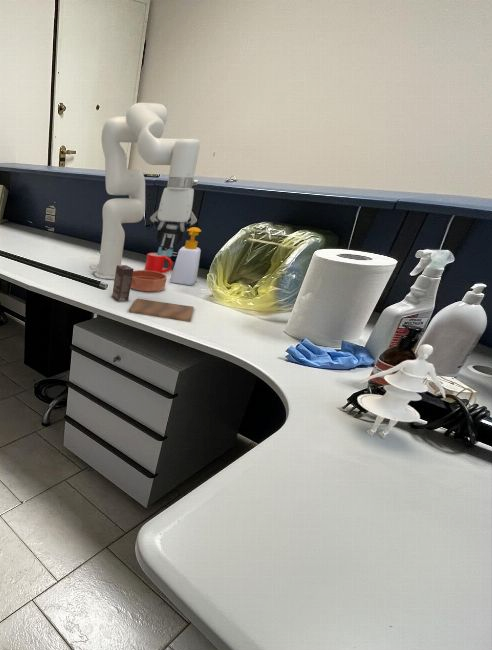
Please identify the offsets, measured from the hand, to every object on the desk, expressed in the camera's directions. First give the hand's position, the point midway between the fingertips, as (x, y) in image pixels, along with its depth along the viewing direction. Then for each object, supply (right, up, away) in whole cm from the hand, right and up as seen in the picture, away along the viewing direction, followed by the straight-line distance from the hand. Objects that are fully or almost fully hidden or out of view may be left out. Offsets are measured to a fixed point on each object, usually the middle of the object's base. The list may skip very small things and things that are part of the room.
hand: (168, 242), depth 139 cm
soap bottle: (+18, -6, +34) cm, 39 cm away
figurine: (+20, -59, -57) cm, 84 cm away
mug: (+13, +3, +49) cm, 51 cm away
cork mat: (-1, -23, +5) cm, 23 cm away
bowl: (+1, -9, +29) cm, 30 cm away
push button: (0, -4, +2) cm, 5 cm away
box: (-13, -16, +15) cm, 26 cm away
